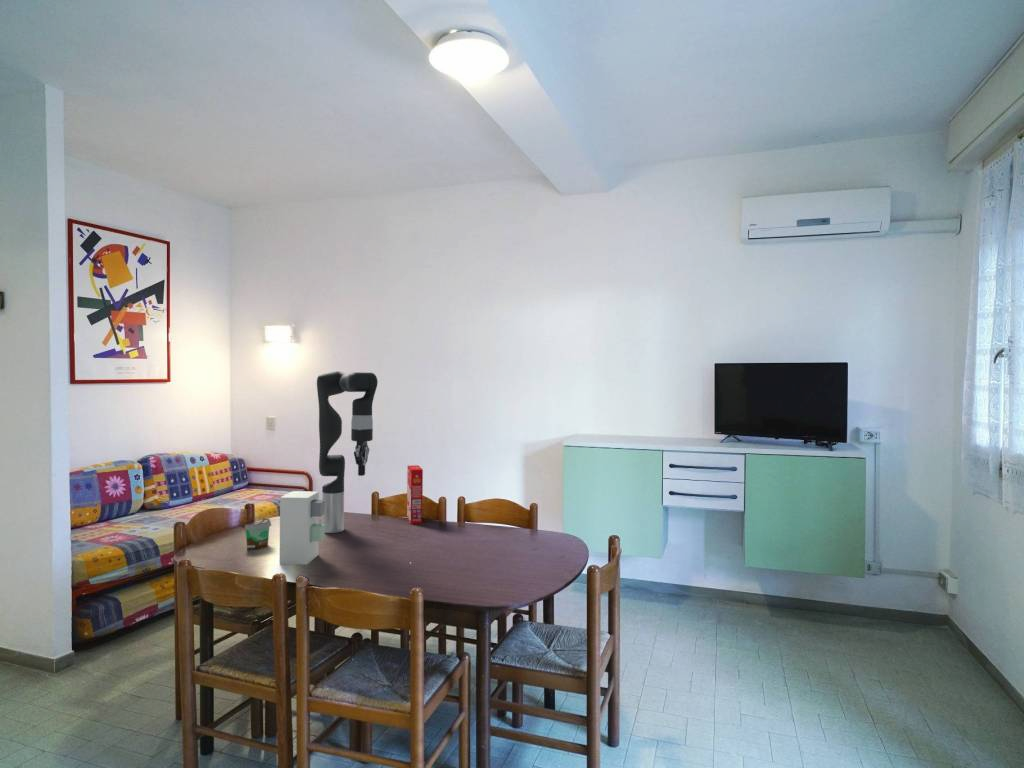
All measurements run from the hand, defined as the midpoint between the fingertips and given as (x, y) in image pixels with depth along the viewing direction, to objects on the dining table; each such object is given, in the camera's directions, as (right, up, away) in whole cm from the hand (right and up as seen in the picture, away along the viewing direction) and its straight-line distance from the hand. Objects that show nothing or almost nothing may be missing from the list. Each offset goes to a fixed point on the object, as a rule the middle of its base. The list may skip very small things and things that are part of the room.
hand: (361, 475), depth 220 cm
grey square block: (-18, -15, +4) cm, 24 cm away
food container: (-45, -32, +20) cm, 58 cm away
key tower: (-24, -32, +4) cm, 40 cm away
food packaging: (+8, -32, +69) cm, 76 cm away
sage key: (-18, -24, +4) cm, 31 cm away
